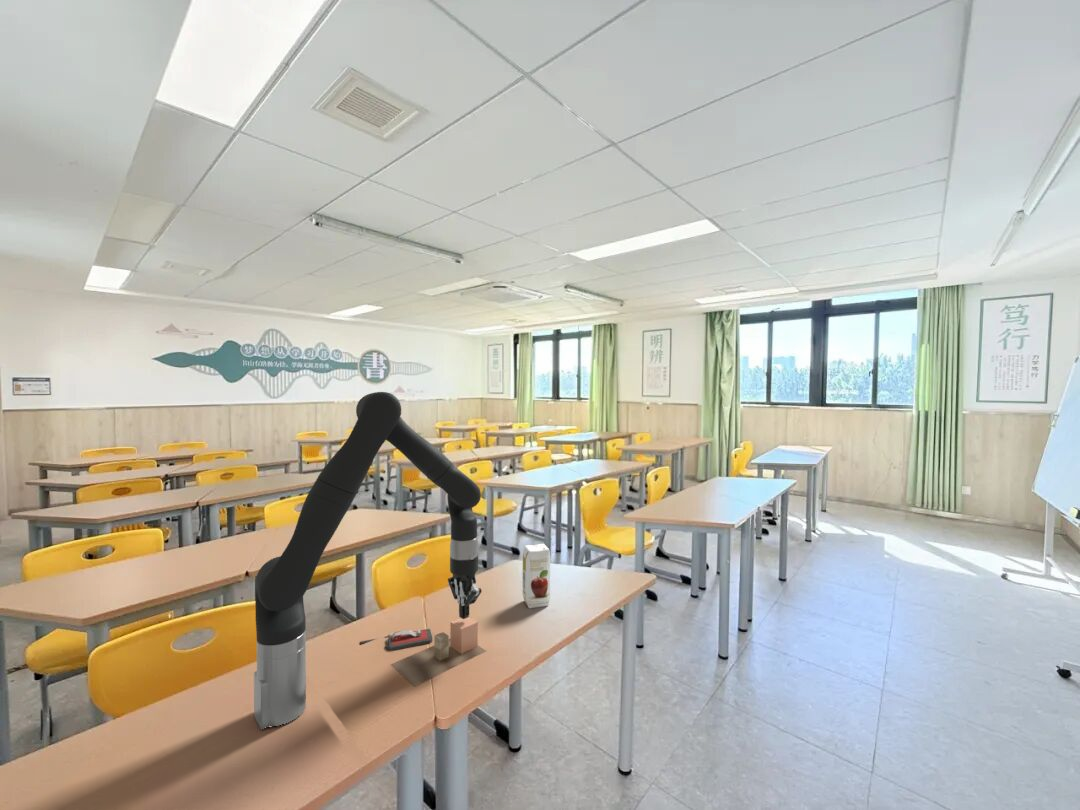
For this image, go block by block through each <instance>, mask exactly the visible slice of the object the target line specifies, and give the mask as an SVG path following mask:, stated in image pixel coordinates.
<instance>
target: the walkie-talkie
mask: <svg viewBox="0 0 1080 810" xmlns="http://www.w3.org/2000/svg"><path fill="white" fill-rule="evenodd" d="M382 638H385V639H386V643H387V644H385V650H386V651H387V650H388V651H390V652H391V651H392V652H394V651H397V650H403V649H407V648H412V647H417V646H418V647H419V646H423V645H428V644H432V642H433V634H432V631H431V629H430V628H425V629H420V628H419V629H417V630H414V631H413V630H410V629H406V630H401V631H395V632H390V633H389V635H386V636H384V637H382ZM387 638H388V639H387ZM378 639H379V638H373V639H367V640H361V641H359V642H358V645H359V646H362V645H365V644H367V643H370V642H373V641H375V640H378Z"/></svg>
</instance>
